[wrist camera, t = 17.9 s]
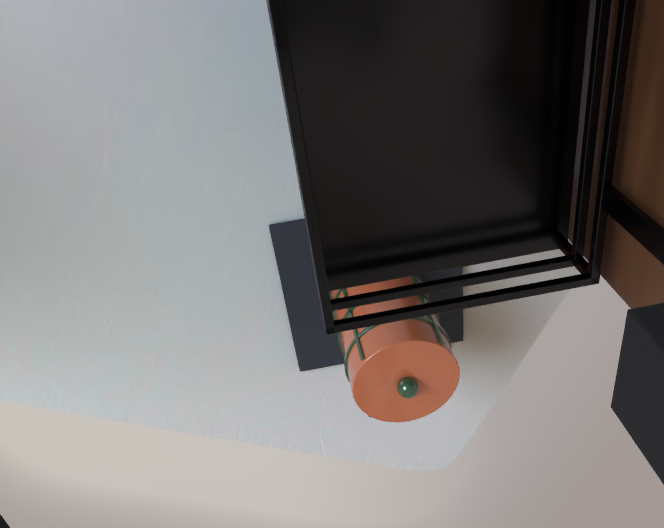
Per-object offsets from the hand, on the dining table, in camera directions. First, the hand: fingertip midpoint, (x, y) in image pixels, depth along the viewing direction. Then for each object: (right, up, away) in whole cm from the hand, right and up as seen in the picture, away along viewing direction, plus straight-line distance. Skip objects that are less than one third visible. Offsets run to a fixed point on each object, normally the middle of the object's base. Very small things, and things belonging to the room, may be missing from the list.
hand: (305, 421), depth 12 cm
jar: (+3, +1, +29) cm, 29 cm away
